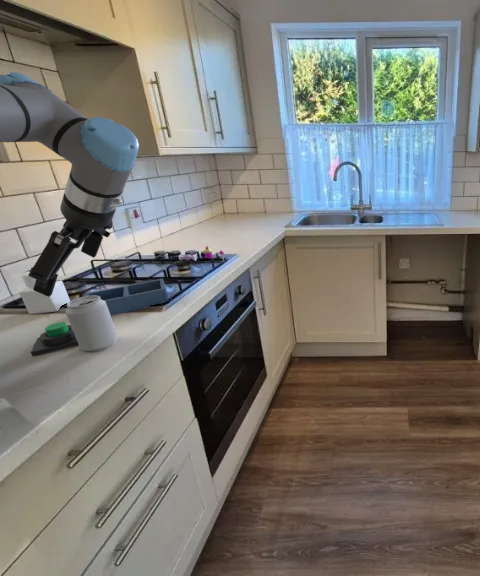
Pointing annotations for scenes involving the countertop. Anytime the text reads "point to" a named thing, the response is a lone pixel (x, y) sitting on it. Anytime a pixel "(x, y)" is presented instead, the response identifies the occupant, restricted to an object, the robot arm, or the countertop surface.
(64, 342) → the control block
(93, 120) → the robot arm
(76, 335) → the can
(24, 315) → the countertop surface
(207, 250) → the set of multicoloured pieces
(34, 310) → the medicine bottle
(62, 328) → the button
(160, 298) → the rack
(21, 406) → the countertop surface
